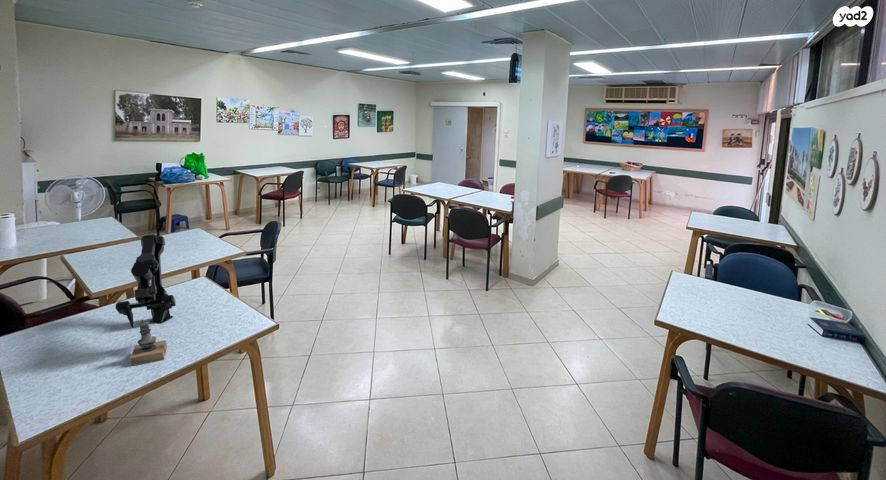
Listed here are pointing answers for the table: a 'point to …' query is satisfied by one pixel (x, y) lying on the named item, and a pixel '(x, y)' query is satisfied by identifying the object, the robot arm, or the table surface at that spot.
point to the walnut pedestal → (148, 354)
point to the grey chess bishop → (146, 338)
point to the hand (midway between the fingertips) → (146, 324)
